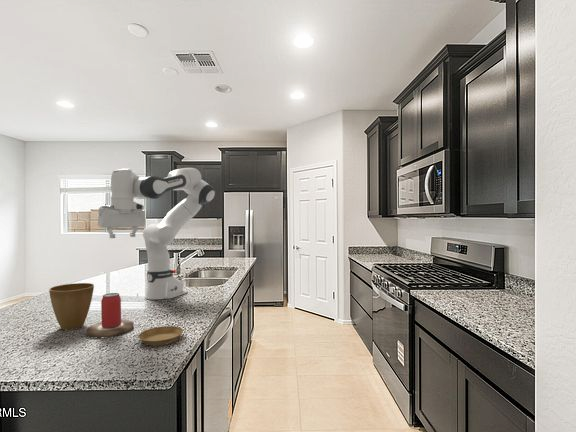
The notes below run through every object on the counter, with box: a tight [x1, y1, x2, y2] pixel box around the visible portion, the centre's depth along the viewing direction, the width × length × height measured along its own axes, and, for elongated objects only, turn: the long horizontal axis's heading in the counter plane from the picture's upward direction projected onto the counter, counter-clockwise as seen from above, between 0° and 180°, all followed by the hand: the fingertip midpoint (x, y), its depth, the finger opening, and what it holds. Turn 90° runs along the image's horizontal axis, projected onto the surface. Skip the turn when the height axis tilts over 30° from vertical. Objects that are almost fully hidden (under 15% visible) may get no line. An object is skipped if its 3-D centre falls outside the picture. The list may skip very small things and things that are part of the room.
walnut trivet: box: [85, 319, 135, 339], centre depth 127 cm, size 16×16×2 cm
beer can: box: [100, 292, 122, 328], centre depth 127 cm, size 7×7×12 cm
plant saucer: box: [137, 325, 184, 347], centre depth 117 cm, size 15×15×3 cm
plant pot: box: [48, 282, 95, 331], centre depth 131 cm, size 15×15×16 cm
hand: (122, 237), depth 145 cm, fingers open, 8 cm apart
